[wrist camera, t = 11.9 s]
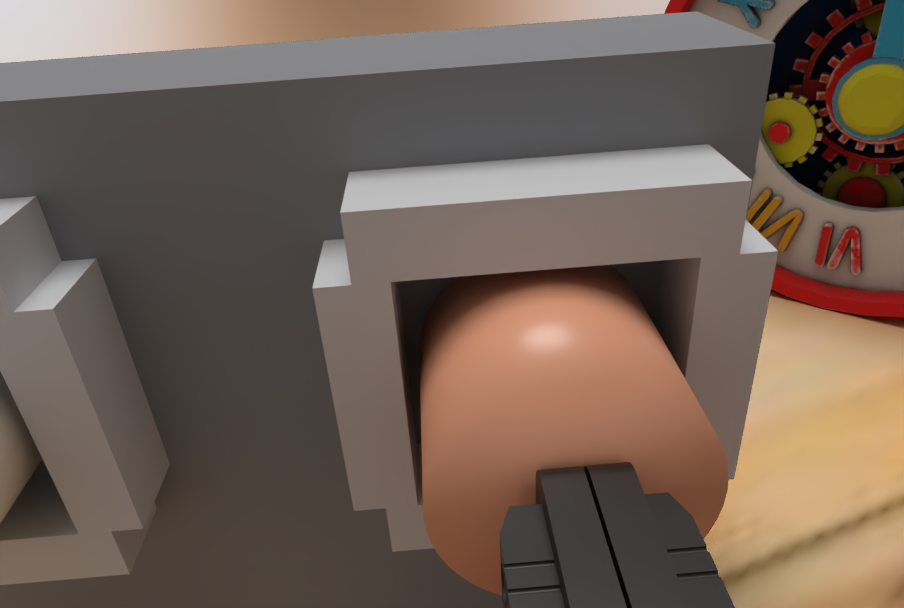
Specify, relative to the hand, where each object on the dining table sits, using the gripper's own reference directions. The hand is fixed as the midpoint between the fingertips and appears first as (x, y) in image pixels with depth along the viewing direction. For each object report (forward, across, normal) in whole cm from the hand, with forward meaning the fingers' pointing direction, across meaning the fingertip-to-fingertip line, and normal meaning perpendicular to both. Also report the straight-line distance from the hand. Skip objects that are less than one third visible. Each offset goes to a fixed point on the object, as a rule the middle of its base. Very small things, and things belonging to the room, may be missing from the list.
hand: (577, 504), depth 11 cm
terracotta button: (+2, 0, +3) cm, 3 cm away
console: (+7, +6, +10) cm, 14 cm away
